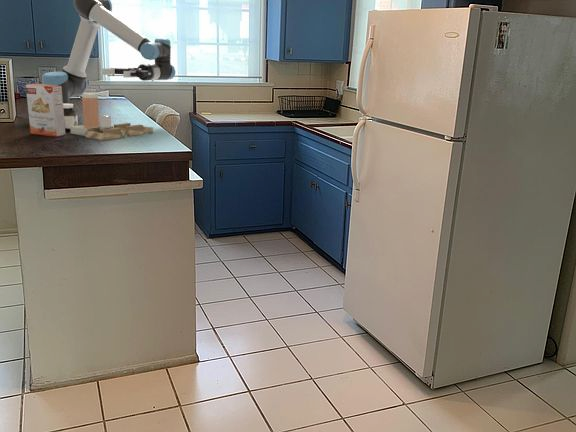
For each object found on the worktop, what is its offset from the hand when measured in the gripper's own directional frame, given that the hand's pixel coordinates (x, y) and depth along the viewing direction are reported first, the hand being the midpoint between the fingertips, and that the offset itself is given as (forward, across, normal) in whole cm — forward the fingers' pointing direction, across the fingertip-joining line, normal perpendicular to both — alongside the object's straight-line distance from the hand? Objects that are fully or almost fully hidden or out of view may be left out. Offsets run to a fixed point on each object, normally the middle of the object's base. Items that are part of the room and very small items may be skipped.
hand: (113, 72), depth 251 cm
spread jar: (+15, +16, -26) cm, 34 cm away
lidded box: (+12, 0, -25) cm, 28 cm away
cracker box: (+28, +10, -26) cm, 39 cm away
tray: (+12, 0, -26) cm, 29 cm away
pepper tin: (+15, -12, -25) cm, 32 cm away
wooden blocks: (+7, -12, -25) cm, 29 cm away
